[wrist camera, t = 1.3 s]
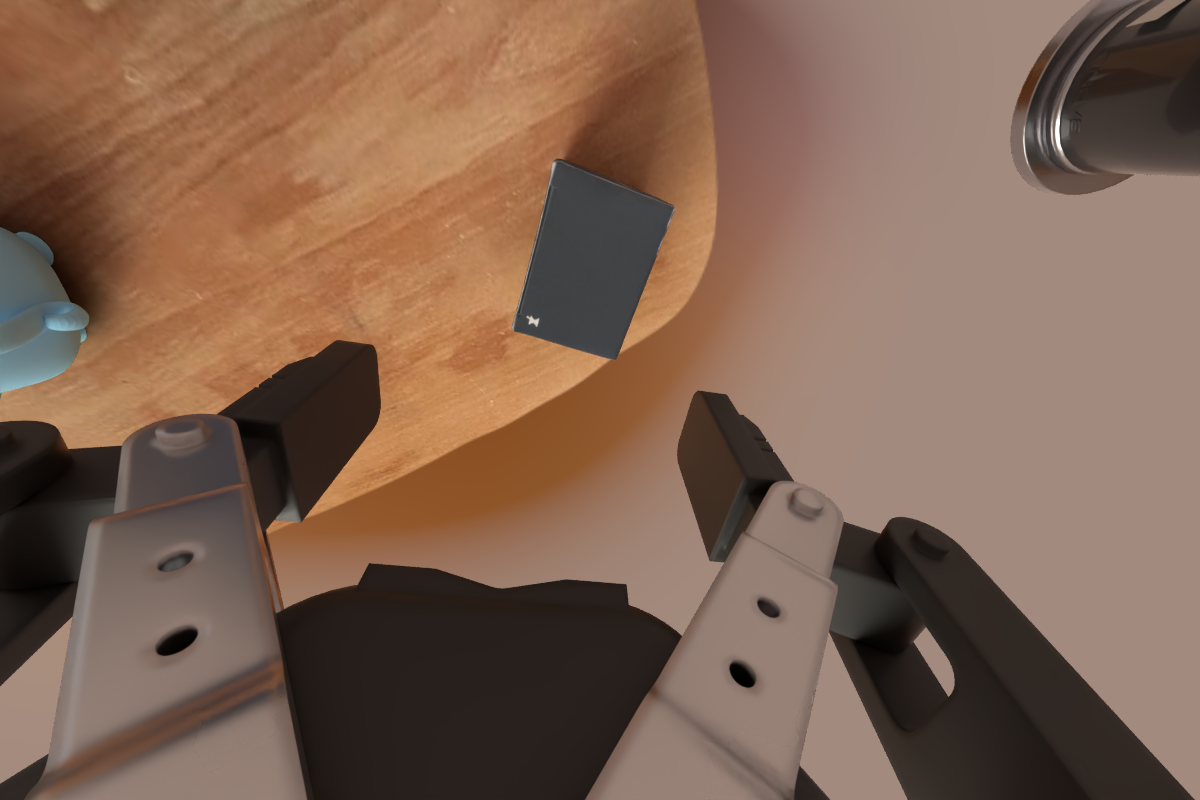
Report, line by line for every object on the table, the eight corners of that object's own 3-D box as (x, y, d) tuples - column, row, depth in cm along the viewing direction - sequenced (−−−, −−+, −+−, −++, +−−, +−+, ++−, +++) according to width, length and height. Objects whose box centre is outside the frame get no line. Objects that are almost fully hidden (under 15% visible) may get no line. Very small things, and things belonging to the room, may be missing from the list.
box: (604, 304, 31) (616, 365, 22) (528, 279, 30) (506, 331, 21) (646, 190, 28) (679, 206, 18) (561, 157, 27) (552, 155, 17)
